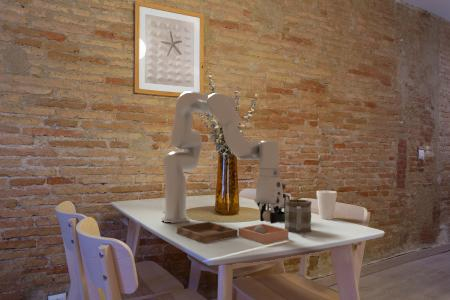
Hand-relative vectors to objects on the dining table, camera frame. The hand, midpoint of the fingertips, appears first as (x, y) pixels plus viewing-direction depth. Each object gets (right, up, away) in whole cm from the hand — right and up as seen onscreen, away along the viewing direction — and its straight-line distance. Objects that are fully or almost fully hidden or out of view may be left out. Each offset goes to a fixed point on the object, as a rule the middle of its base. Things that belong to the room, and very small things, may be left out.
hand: (268, 221), depth 128 cm
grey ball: (-4, -5, -3) cm, 7 cm away
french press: (+8, -6, +33) cm, 35 cm away
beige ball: (0, 0, 0) cm, 0 cm away
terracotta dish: (-2, -6, -1) cm, 7 cm away
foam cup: (+33, -7, +38) cm, 50 cm away
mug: (+13, -6, +10) cm, 18 cm away
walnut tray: (-23, -6, +1) cm, 24 cm away
